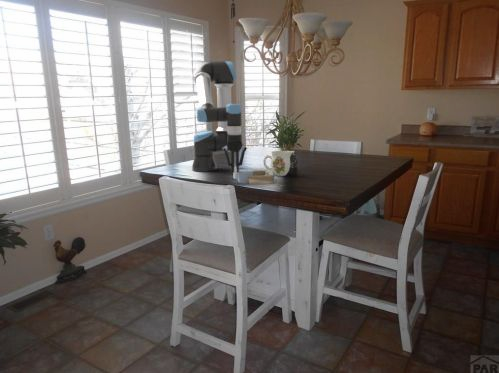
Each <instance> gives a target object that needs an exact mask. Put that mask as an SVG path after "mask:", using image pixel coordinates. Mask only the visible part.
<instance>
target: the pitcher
mask: <svg viewBox="0 0 499 373" xmlns="http://www.w3.org/2000/svg"><path fill="white" fill-rule="evenodd" d="M294 153H295V151H293V150H275V151H271V155H265V156H264V159H263V166H264V168H266V170H267V171H272V172H273V173H272V174H273V175H274V176H276V177H277V176H278V177H283V176H287V174H289V171H290V168H291V159H290V158H291V156H292V154H294ZM267 158H269V159H270V166H271V167H269V166H268V165H267V163H266V160H267Z"/></svg>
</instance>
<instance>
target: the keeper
mask: <svg viewBox="0 0 499 373" xmlns="http://www.w3.org/2000/svg"><path fill="white" fill-rule="evenodd" d="M253 171H254V170H252V169H251V168H248V169H247V168H246V169H242V168H241V169H239V172H237V181H238V183H239V184H249V177H248V176H253Z"/></svg>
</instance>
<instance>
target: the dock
mask: <svg viewBox="0 0 499 373" xmlns="http://www.w3.org/2000/svg"><path fill="white" fill-rule="evenodd" d="M252 171H253V176H248V177H249V183H248V185H260V184H261V185H264V184H274V183H275V174H274V173H272V172H270V170H268V169H260V170H252Z"/></svg>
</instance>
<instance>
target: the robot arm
mask: <svg viewBox="0 0 499 373" xmlns="http://www.w3.org/2000/svg"><path fill="white" fill-rule="evenodd" d="M236 74H237V73H236V68H235V65H234V63H233V62H232V61H226V60H224V61H220V60H219V61H210V60H209V61H208V60H207V61H204V62H201V64H200V65H198V67H197V68H196V69H195V71H194V74H193V81H194V83H195V85H196V90H197V99H198V104H199V105H198V106H199V107H198V108H197V109H196V119H197V122H199V123H214V122H215V123H216V122H217V128H216V129H215V133H214V132H213V131H212V130H208V131H201V132H196V133H194V135H193V144H194V145H193V151H194V153H193V154H194V158H193V162H192V165H191V169H192V171H194V172H203V173H204V172H212V171H216V170H217V167H218V166H217V163H216V160H215V157H214V153H224V156H225V159H226V163H227V166H229V167H230V169H231V173H232V174H233V179H234V180H238V172H239V170H240V168H239V167H240V166H242V165H243V163H244V157H245V153H246V151H247V147H246V146H244V145H243V140H242V106H241V105H242V104H240V103H232V87H233V86H234V83H235V82H236V81H237V78H236V77H237V75H236ZM211 82H213V85H214V86H215V87H216V98H217V99H216V100H217V101H216V102H217V103H216V104H217V105H216V106H217V107H214V102H213V101H214V100H213V95H212V90H211V84H210V83H211ZM240 150H241V154H239V153H240ZM229 153H230V156H229ZM239 155H240V158H239Z"/></svg>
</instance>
